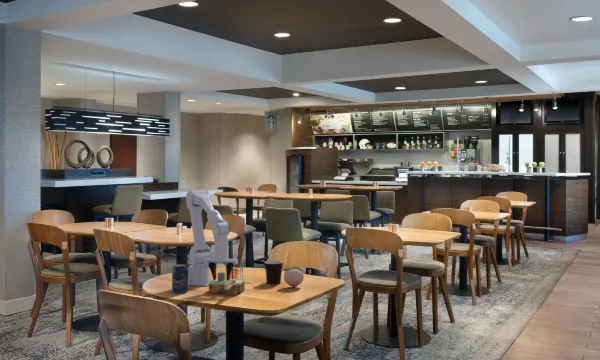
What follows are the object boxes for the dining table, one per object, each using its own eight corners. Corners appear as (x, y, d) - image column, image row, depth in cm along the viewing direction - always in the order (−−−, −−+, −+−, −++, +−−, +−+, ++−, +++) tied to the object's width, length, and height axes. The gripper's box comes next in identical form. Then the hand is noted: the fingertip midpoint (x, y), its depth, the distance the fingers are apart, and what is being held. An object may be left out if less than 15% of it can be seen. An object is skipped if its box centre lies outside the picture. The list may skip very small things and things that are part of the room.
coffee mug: (280, 285, 267) (280, 264, 267) (262, 284, 269) (262, 263, 268) (286, 280, 278) (286, 259, 278) (268, 279, 280) (268, 259, 280)
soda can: (172, 294, 249) (171, 266, 249) (172, 290, 256) (172, 263, 256) (188, 293, 251) (188, 266, 250) (188, 290, 258) (188, 263, 257)
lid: (208, 285, 251) (208, 274, 251) (214, 281, 259) (214, 270, 259) (239, 286, 249) (239, 275, 249) (244, 282, 257) (244, 271, 257)
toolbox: (207, 294, 249) (207, 283, 249) (215, 288, 262) (215, 277, 262) (238, 295, 247) (238, 285, 247) (245, 289, 260) (245, 278, 260)
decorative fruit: (285, 289, 258) (285, 267, 258) (282, 286, 266) (282, 264, 266) (305, 289, 260) (305, 267, 259) (302, 285, 268) (302, 263, 267)
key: (222, 289, 237) (222, 284, 237) (229, 283, 247) (229, 279, 247) (229, 289, 237) (229, 284, 237) (235, 284, 247) (235, 279, 247)
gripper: (202, 250, 251) (202, 281, 252) (234, 251, 249) (234, 282, 250) (207, 247, 258) (207, 277, 259) (239, 248, 256) (239, 278, 257)
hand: (221, 279), depth 255 cm, fingers open, 5 cm apart
